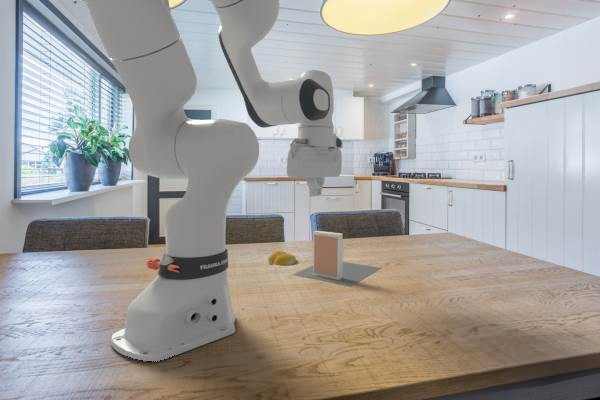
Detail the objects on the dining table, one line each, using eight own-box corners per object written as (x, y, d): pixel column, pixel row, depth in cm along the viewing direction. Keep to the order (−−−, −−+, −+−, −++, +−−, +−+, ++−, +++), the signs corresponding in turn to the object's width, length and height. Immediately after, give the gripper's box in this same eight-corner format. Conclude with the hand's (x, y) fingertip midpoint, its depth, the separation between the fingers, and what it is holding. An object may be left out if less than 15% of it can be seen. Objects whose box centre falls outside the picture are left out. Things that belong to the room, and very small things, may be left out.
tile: (338, 280, 95) (338, 234, 94) (312, 275, 99) (312, 231, 98) (342, 277, 97) (342, 233, 96) (317, 273, 101) (317, 230, 100)
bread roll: (281, 269, 108) (281, 256, 108) (264, 263, 115) (264, 251, 115) (302, 264, 114) (302, 252, 113) (284, 259, 120) (284, 247, 120)
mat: (350, 289, 90) (350, 286, 90) (292, 277, 100) (292, 274, 100) (381, 270, 106) (381, 268, 106) (328, 261, 116) (328, 259, 116)
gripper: (302, 136, 80) (302, 199, 81) (346, 142, 96) (345, 193, 98) (280, 138, 83) (280, 198, 85) (325, 143, 100) (325, 193, 101)
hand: (315, 195), depth 91 cm, fingers closed
